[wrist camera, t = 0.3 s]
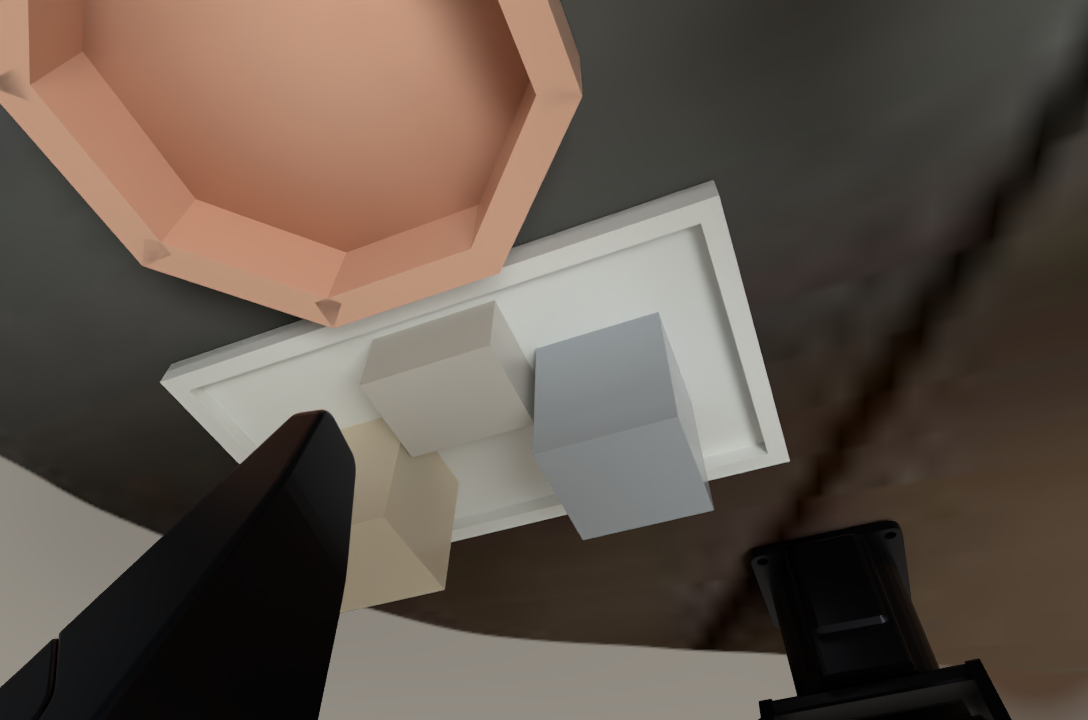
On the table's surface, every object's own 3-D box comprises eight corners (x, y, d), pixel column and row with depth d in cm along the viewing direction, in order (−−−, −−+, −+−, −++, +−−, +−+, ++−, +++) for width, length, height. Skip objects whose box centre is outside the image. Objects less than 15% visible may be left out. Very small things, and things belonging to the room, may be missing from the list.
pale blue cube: (691, 402, 27) (714, 510, 23) (579, 432, 28) (582, 540, 24) (658, 311, 24) (677, 416, 21) (536, 348, 25) (532, 454, 22)
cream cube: (458, 482, 30) (444, 589, 26) (365, 506, 31) (338, 613, 27) (407, 409, 27) (383, 517, 24) (307, 439, 28) (269, 546, 25)
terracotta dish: (622, 179, 22) (630, 229, 19) (258, 307, 25) (227, 363, 23) (417, -406, 14) (390, -437, 12) (-73, -113, 17) (-170, -92, 15)
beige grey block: (535, 376, 26) (534, 424, 24) (421, 409, 27) (412, 457, 26) (494, 299, 24) (489, 345, 22) (373, 339, 25) (358, 385, 23)
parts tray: (783, 442, 29) (790, 461, 28) (345, 549, 34) (340, 568, 33) (713, 179, 22) (719, 195, 21) (171, 363, 27) (160, 382, 26)
